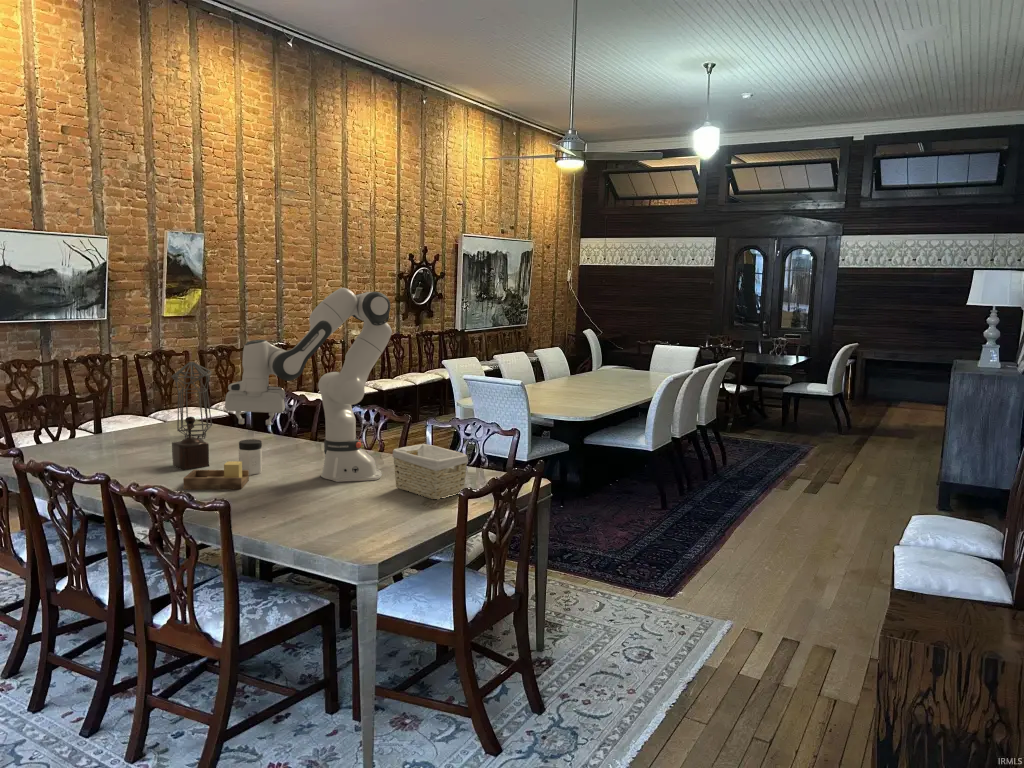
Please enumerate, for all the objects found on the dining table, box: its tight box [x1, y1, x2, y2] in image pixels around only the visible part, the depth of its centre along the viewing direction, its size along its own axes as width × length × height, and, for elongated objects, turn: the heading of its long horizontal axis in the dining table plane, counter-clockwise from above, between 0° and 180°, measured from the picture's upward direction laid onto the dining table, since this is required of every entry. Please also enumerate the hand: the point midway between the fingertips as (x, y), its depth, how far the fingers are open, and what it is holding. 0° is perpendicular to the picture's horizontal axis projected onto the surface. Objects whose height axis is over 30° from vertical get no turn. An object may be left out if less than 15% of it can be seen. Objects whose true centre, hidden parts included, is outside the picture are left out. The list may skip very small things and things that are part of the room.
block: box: [223, 460, 242, 478], centre depth 269 cm, size 5×5×6 cm
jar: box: [238, 439, 263, 476], centre depth 288 cm, size 9×8×12 cm
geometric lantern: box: [170, 361, 213, 440], centre depth 345 cm, size 16×16×35 cm
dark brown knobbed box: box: [171, 416, 210, 471], centre depth 296 cm, size 16×11×18 cm
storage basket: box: [392, 443, 469, 500], centre depth 269 cm, size 24×16×15 cm
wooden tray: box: [182, 469, 250, 491], centre depth 269 cm, size 19×12×4 cm, turn 97°
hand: (254, 424), depth 269 cm, fingers open, 8 cm apart
